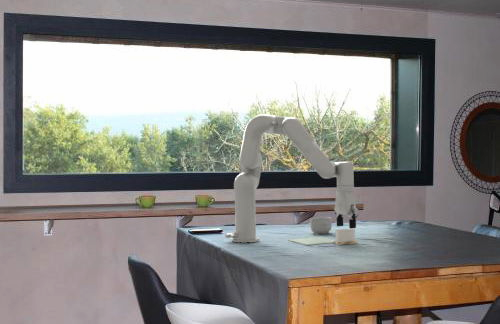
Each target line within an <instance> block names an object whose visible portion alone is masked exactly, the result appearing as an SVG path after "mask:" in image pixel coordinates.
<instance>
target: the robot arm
mask: <svg viewBox="0 0 500 324" xmlns="http://www.w3.org/2000/svg"><path fill="white" fill-rule="evenodd" d="M263 134H275V135H282V136H284V135H285V136H286V137H287V138H288V139H289V140H290V142H291V143H292V144H294V146H295V147H296V148H297V150H298V151H299V152H300V154H302V156H303V157H304V159H306V161H307V162H308V163H309V165H310V166H311V167H312V168H313V169H314V170H315V171H316V173H317V174H318V175H319V176H320V177H321V178H322V179H324V180H325V179H326V180H327V179H332V178H336V192H335V193H336V194H335V201H334V203H335V204H334V207H333V209H334V214H335V218H336V227H344V217H343V216H347V215H348V217H349V218H348V221H349V222H348V224H349V226H348V227H349V228H348V229H356V228H357V217H358V214H359V208H357V207H356V197H355V183H354V181H355V179H354V176H355V175H354V171H355V170H354V163H353V162H352V161H330V159H328V157H327V156H326V155H325V153H323V151H322V150H321V148H320V146H319V145H318V143H317V141H316V139H315V138H314V137H313V136H312V134H311V133H309V131H308V130H307V129H306V127H304V124H303V125H302V121H301V120H300V119H298V117H294V116H289V117H288V116H279V115H273V114H272V115H271V114H268V113H267V114H266V113H261V114H258V115H256V116H253V117H252V118H251V119H250V120H249V121H248V122H247V123H246V126H245V128H244V132H243V137H242V142H241V149H240V153H239V158H238V159H239V160H238V162H239V165H240V167H241V168H240V173H239V174H238V175H237V176H236V177H235V179H234V182H233V192H234V230H233V231H232V232H231V233H230V232H229V233H225V238H226V239H228V238H231V242H234V243H240V242H241V243H244V244H245V243H247V242H250V243H257V242H259V241H260V238H259V237H257V235H256V234H257V232H256V230H257V228H256V227H257V223H256V222H257V220H256V219H257V216H256V215H257V211H256V210H257V209H256V207H257V205H256V189H257V188H258V186H259V185H260V179H261V178H260V177H261V172H262V167H263V166H262V165H263V156H262V153H261V151H260V150H261V146H262V138H263V137H262V136H263Z"/></svg>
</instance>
